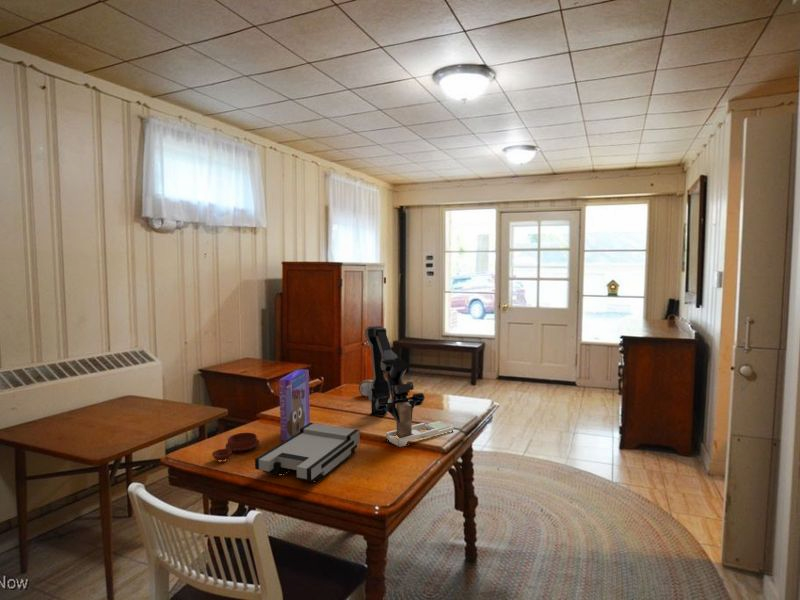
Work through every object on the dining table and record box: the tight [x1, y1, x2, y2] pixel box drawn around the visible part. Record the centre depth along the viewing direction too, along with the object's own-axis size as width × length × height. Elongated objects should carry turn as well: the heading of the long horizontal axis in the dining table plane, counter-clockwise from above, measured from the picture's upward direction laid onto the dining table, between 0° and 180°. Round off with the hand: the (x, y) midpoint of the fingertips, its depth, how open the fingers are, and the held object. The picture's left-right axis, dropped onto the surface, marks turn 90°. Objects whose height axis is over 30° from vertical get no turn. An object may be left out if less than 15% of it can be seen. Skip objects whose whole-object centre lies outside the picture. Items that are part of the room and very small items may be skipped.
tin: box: [358, 379, 373, 398], centre depth 243 cm, size 15×3×8 cm, turn 84°
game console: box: [254, 422, 361, 483], centre depth 164 cm, size 21×32×8 cm, turn 158°
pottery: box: [211, 432, 260, 461], centre depth 174 cm, size 12×20×4 cm, turn 160°
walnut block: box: [395, 402, 413, 438], centre depth 184 cm, size 4×4×12 cm
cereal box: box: [278, 368, 311, 442], centre depth 192 cm, size 17×5×24 cm, turn 168°
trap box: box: [385, 420, 455, 448], centre depth 189 cm, size 26×9×3 cm, turn 125°
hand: (405, 421), depth 182 cm, fingers closed on walnut block, 4 cm apart
